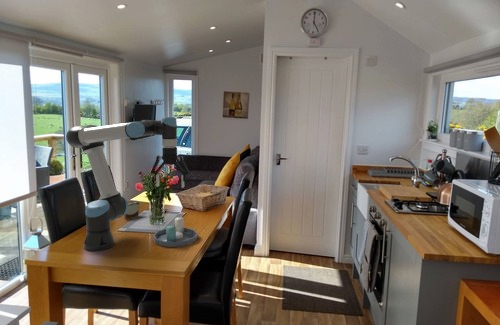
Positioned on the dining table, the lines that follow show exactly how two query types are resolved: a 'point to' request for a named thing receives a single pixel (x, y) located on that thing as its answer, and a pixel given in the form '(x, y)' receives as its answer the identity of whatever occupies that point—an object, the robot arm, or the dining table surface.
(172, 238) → the teal green block
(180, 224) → the cream bead
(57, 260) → the dining table surface
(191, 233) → the groove tray
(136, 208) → the food container
